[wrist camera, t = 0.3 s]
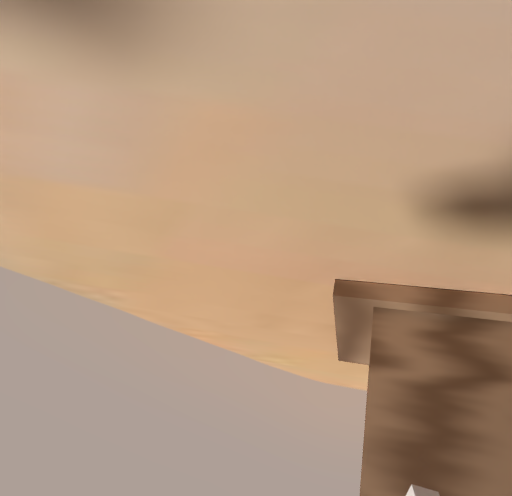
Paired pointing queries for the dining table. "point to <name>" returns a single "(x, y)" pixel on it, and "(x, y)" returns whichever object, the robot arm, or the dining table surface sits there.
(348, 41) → the dining table surface
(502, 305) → the pin stand
